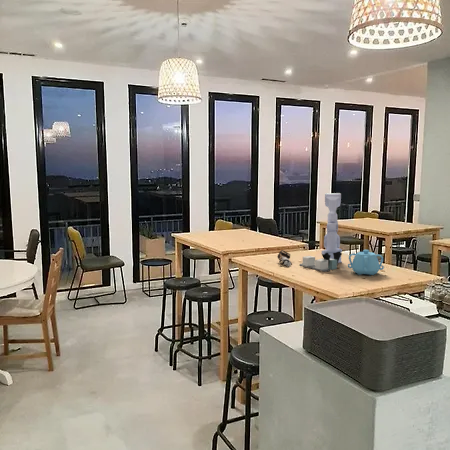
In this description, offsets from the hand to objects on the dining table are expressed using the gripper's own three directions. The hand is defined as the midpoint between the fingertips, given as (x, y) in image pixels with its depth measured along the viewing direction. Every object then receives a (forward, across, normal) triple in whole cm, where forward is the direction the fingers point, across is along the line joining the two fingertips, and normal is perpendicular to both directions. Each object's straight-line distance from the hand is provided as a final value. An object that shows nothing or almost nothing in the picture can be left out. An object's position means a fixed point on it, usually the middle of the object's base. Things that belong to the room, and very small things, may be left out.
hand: (331, 265), depth 272 cm
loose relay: (+2, +2, +9) cm, 10 cm away
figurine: (+2, -16, +25) cm, 30 cm away
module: (+2, 0, 0) cm, 2 cm away
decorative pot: (+2, +7, -20) cm, 21 cm away
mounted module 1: (+2, -8, +11) cm, 14 cm away
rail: (+2, -8, +6) cm, 10 cm away
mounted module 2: (+2, -8, 0) cm, 8 cm away
